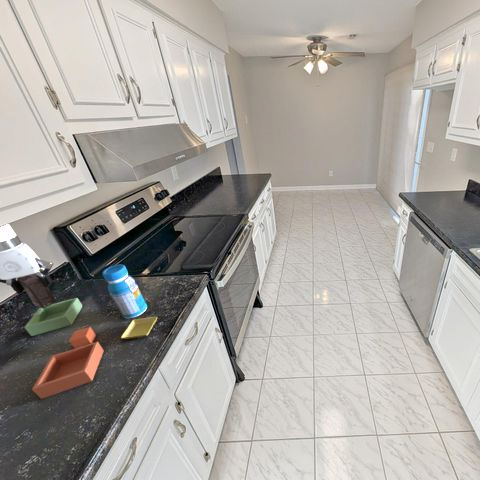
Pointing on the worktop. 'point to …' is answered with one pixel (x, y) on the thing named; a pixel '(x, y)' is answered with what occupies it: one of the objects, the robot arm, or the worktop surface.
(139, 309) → the blue medicine bottle
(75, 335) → the block
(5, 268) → the robot arm
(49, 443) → the worktop surface
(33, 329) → the sage bin
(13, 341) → the worktop surface
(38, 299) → the box
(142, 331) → the yellow flat square tray
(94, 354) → the terracotta bin
